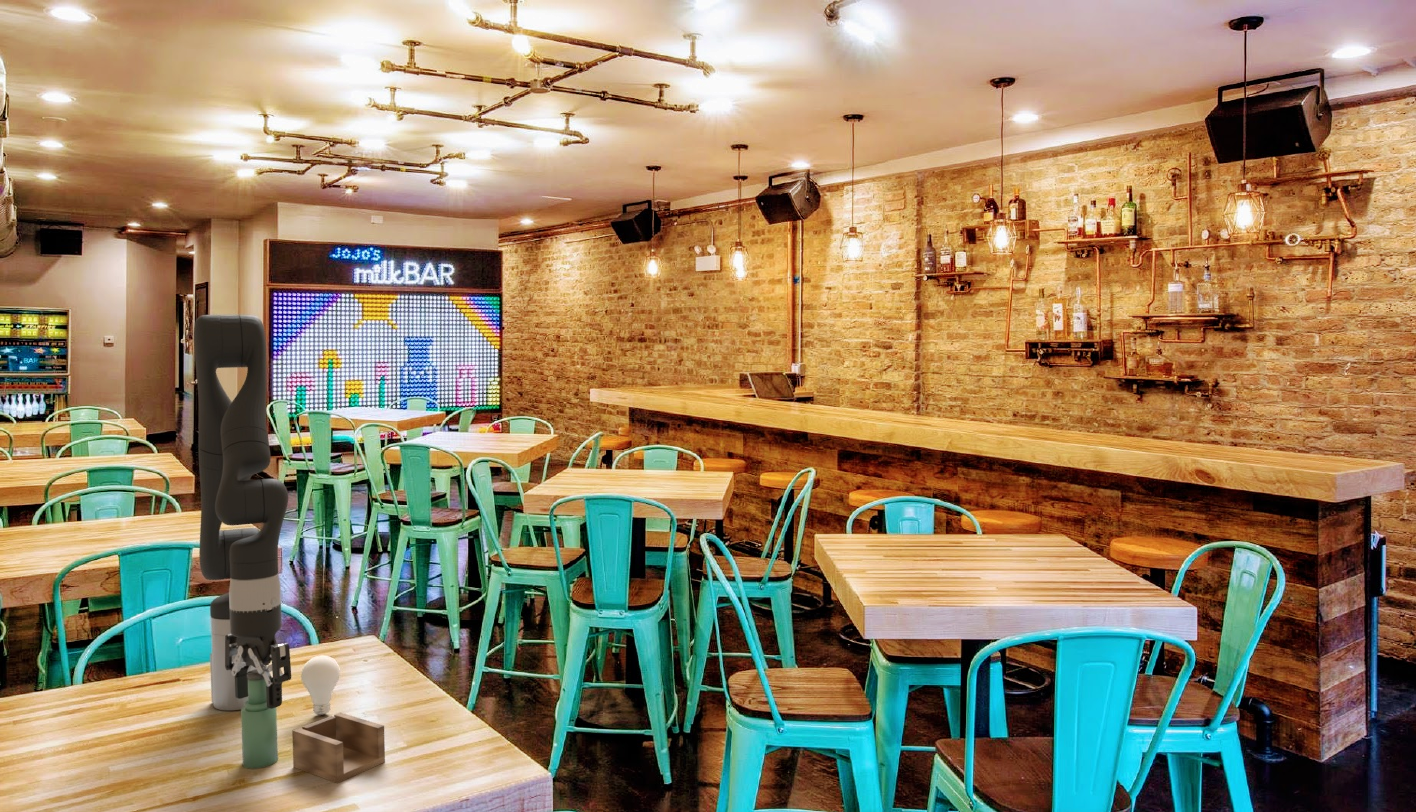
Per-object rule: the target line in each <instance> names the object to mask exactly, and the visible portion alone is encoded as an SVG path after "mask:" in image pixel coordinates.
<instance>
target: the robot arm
mask: <svg viewBox="0 0 1416 812" xmlns="http://www.w3.org/2000/svg"><path fill="white" fill-rule="evenodd" d="M265 331H266V330H265V326H264V324H263V320H261V318H260V317H258V316H256V315H250V314H204V315H203V314H202V315H199V316H198V317H197V319H196V320H195V323H194V327H193V348H194V358H195V359H194V360H195V361H194V362H195V370H196V371H195V372H196V382H197V392H198V396H197V397H198V467H199V468H198V469H199V481H200V483H199V484H200V499H201V500H200V502H201V503H200V507H201V508H200V532H199V557H198V558H199V567H200V572H201V574H202V576H203V578H204V579H205V580H208V581H221V580H229V579H230V582H229V589H228V592H226V593H224V594H221V595H220V596H218V597H216V598H214V599H213V600H212V601H211V603H210V606H209V610H210V615H209V616H210V637H211V640H210V641H211V653H210V654H209V661H210V664H209V665H210V692H211V693H210V694H211V703H213V708H214V709H215V710H220V711H239V710H240V711H241V709H242V708H243V707H244V706H245V702H246V701H248V679H247V672H249V671H252V670H256V669H257V670H258V673H259V674H261V675H263V677H264V679H265V681H266V684H267V686H266V699H267V708H270V709H273V708H276V709H277V708H279V707H281V706H282V704H283V683H284V682H286V681H287V682H288V681H290V680H292V667H291V654H290V653H291V650H290V643H288V642H285V643H284V642H283V643H277V639H276V634H277V632H279V631H280V630H281V629H282V626H283V625H282V620H283V619H282V596H281V595H282V594H281V582H280V577H279V552H278V551H279V540H280V535H281V530H282V527H283V522H284V519H285V516H286V513H287V509H288V504H289V492H288V489H287V487H286V486H285V483H283V482H282V481H281V480H279V479H278V478H277V479H276V478H263V479H251V478H252V476H253V475H255V474H259V473H261V472H263V471H265V470H266V469H268V467H269V466H270V464H271V460H272V459H271V450H270V449H271V448H270V441H269V433H268V426H267V389H268V388H267V387H268V386H267V385H268V384H267V380H268V379H267V378H268V377H267V374H268V373H267V372H268V371H267V363H268V362H267V358H268V357H267V336H266V332H265ZM223 368H225V369H227V368H229V369H230V368H247V371H246V377H245V380H244V383H243V384H242V385H241V388H240V389H239V391H238V392H237V395H236V396H235V397H234V399H233V400H231V399H230V397H229V396H228V394H227V393H226V391H225V389H224V388H223V386H222V384H221V382H220V379H219V377H218V375H217V369H223ZM222 523H223V524H224V525H227V526H232V527H233V526H244V525H253V524H262V523H263V526H262V528H261V529H259V528H257V527H244V528H231V529H223V530H221V528H222V527H221V526H222ZM282 668H283V671H282ZM271 672H272V674H271Z"/></svg>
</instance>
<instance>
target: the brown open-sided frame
mask: <svg viewBox="0 0 1416 812" xmlns="http://www.w3.org/2000/svg"><path fill="white" fill-rule="evenodd" d="M291 735H292V760H293V763H292V766H293V768H296V769H297V770H301V771H303V772H306V773H309V774H311V775H315V776H317V777H320V778H323V779H324V780H328V781H331V782H334V783H335V784H336V783H337V784H339V783H341V782H343V781H346V780H347V779H349V778H353V777H354V776H356V775H359V774H361V773H364V772H365V771H368V770H370V769H372V768H374V767H376V766H379V765H381V764H384V763H385V762H386V754H385V753H386V752H385V750H386V747H385V746H386V745H385V725H383V724H379V723H376V722H374V721H373V722H372V721H370V720H366V719H363V718H360V717H357V716H353V715H351V714H346V713H344V712H338V713H336V714H334V715H333V716H332V715H330V716H328V717H325V718H322V719H318V720H316V721H315V722H311V723H309V724H305V725H303V726H301V727H298V728H295V729H293V730H292V734H291Z"/></svg>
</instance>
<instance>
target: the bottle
mask: <svg viewBox="0 0 1416 812" xmlns="http://www.w3.org/2000/svg"><path fill="white" fill-rule="evenodd" d="M247 679H248V701H246V702H245V706H244V707H243V708H242V709H240V718H241V719H240V720H241V721H240V722H241V723H240V724H241V749H242V750H241V751H242V753H241V754H242V767H244V768H246V769H254V770H255V769H262V768H266V767H269V766H271V765H273V764H276V762H278V759H279V748H278V747H279V746H278V718H277V717H278V715H277V711H278V710H277V707H276V708H273V709H270V708H267V699H266V686H267V684H266V681H265V679H264V677H263V675H261V674H259V673H258V670H257V669H256V670H252V671H249V672H247Z"/></svg>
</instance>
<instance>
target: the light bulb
mask: <svg viewBox="0 0 1416 812" xmlns="http://www.w3.org/2000/svg"><path fill="white" fill-rule="evenodd" d="M340 676H341V669H340V665H339V664H338V662H337V660H335V658H333V657H332V656H329V655H316V656H313V657H312V658H310V659H308V661H307V662H305V664H304V665H303V668H302V670H301V674H300V677H301V682H302V685H303V686H304V688H305V689H306V690H307V692H308V694H309V696H310V698H311V699H310V700H311V703H312V704H313V705H312V709H313V710H312V712H313V713H314V714H315V715H316V716H320V717H321V716H324V715H327V714H328V713H329V712H330V711H331V703H330V702H331V701H332V695H333V691H334V689H335V687H336V686H337V684H338V682H339V680H340Z"/></svg>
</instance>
